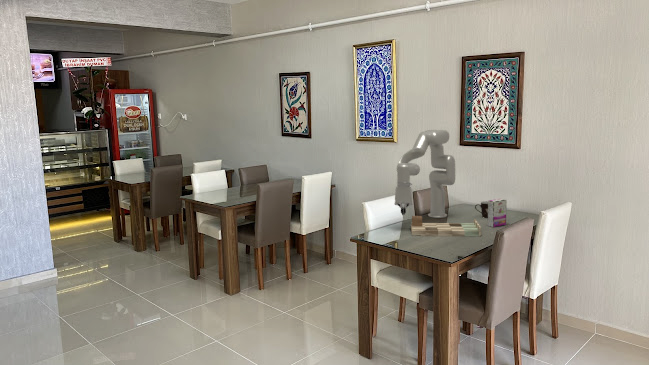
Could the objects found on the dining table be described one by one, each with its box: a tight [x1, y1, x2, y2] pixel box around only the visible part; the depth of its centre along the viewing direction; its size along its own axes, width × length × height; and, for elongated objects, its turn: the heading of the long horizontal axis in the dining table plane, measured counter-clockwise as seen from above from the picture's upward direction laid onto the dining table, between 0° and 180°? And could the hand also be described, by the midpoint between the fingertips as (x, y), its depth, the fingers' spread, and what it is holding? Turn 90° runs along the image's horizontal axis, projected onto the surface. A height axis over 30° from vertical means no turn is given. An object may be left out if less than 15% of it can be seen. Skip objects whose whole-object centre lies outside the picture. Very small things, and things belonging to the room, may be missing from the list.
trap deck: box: [410, 219, 482, 237], centre depth 291 cm, size 19×39×6 cm, turn 82°
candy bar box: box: [487, 198, 507, 228], centre depth 302 cm, size 11×5×16 cm, turn 117°
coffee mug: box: [474, 200, 489, 219], centre depth 326 cm, size 12×9×10 cm
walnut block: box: [411, 215, 423, 226], centre depth 298 cm, size 6×6×5 cm
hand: (403, 214), depth 298 cm, fingers closed
